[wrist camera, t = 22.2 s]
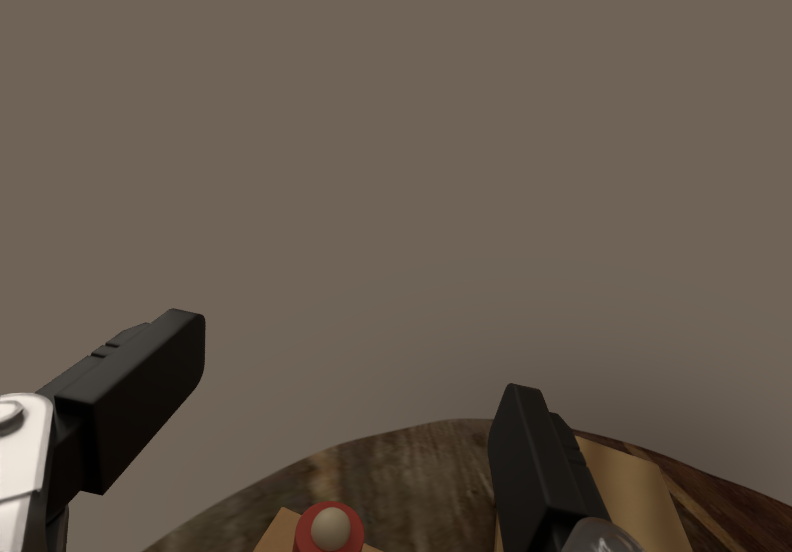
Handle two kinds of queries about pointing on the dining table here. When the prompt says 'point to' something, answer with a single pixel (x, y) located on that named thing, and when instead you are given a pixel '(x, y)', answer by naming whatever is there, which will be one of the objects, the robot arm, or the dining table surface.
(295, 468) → the dining table surface
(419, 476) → the dining table surface
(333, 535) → the toy figure
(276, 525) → the cork mat
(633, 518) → the shelf
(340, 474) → the dining table surface
